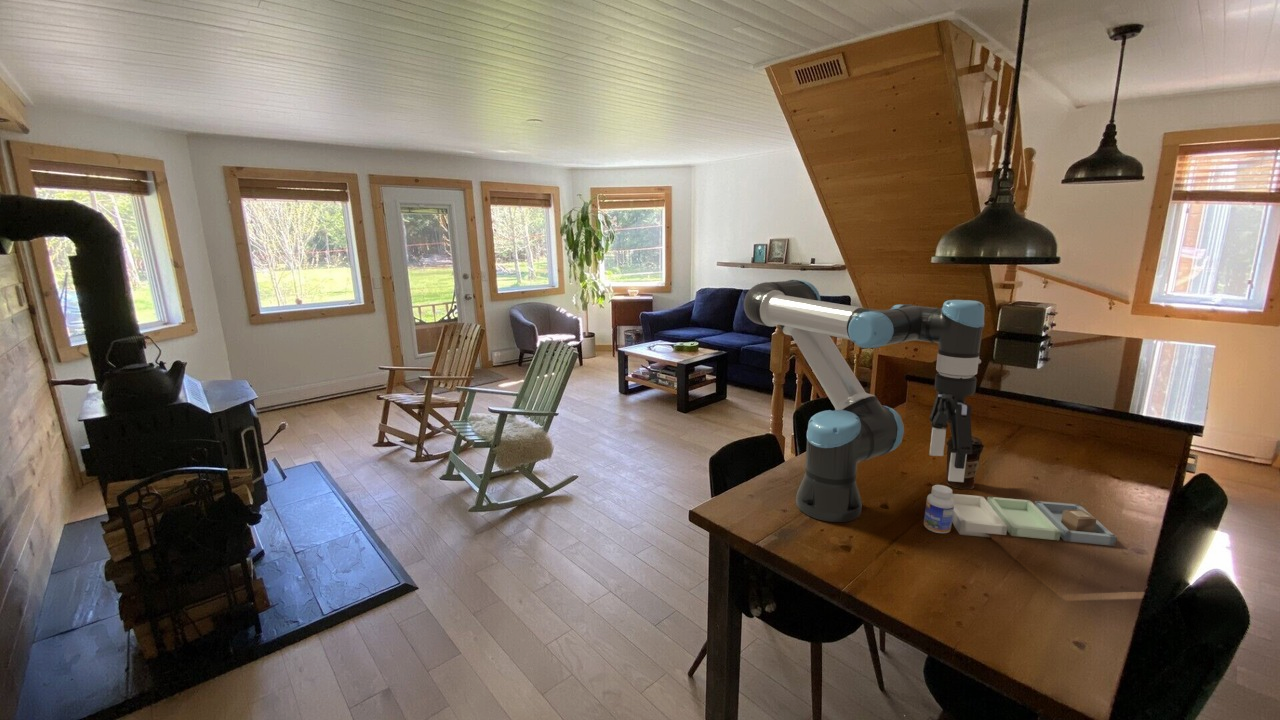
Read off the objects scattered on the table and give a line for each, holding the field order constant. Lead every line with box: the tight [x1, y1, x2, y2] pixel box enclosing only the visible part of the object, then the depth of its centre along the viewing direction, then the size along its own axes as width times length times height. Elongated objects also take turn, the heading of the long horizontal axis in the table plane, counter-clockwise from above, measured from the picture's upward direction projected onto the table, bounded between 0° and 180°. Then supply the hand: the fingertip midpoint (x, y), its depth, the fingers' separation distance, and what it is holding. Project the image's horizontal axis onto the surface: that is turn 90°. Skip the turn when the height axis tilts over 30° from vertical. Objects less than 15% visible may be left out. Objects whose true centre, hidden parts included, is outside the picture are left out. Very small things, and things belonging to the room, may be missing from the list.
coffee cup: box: [945, 436, 985, 490], centre depth 139 cm, size 9×8×13 cm
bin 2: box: [1034, 500, 1117, 547], centre depth 118 cm, size 9×14×3 cm, turn 166°
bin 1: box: [951, 493, 1008, 538], centre depth 123 cm, size 9×14×3 cm, turn 166°
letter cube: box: [1061, 509, 1098, 533], centre depth 116 cm, size 4×4×4 cm
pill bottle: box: [923, 484, 954, 534], centre depth 119 cm, size 5×5×10 cm
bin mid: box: [986, 496, 1061, 541], centre depth 120 cm, size 9×14×3 cm, turn 166°
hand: (945, 467), depth 117 cm, fingers open, 13 cm apart
